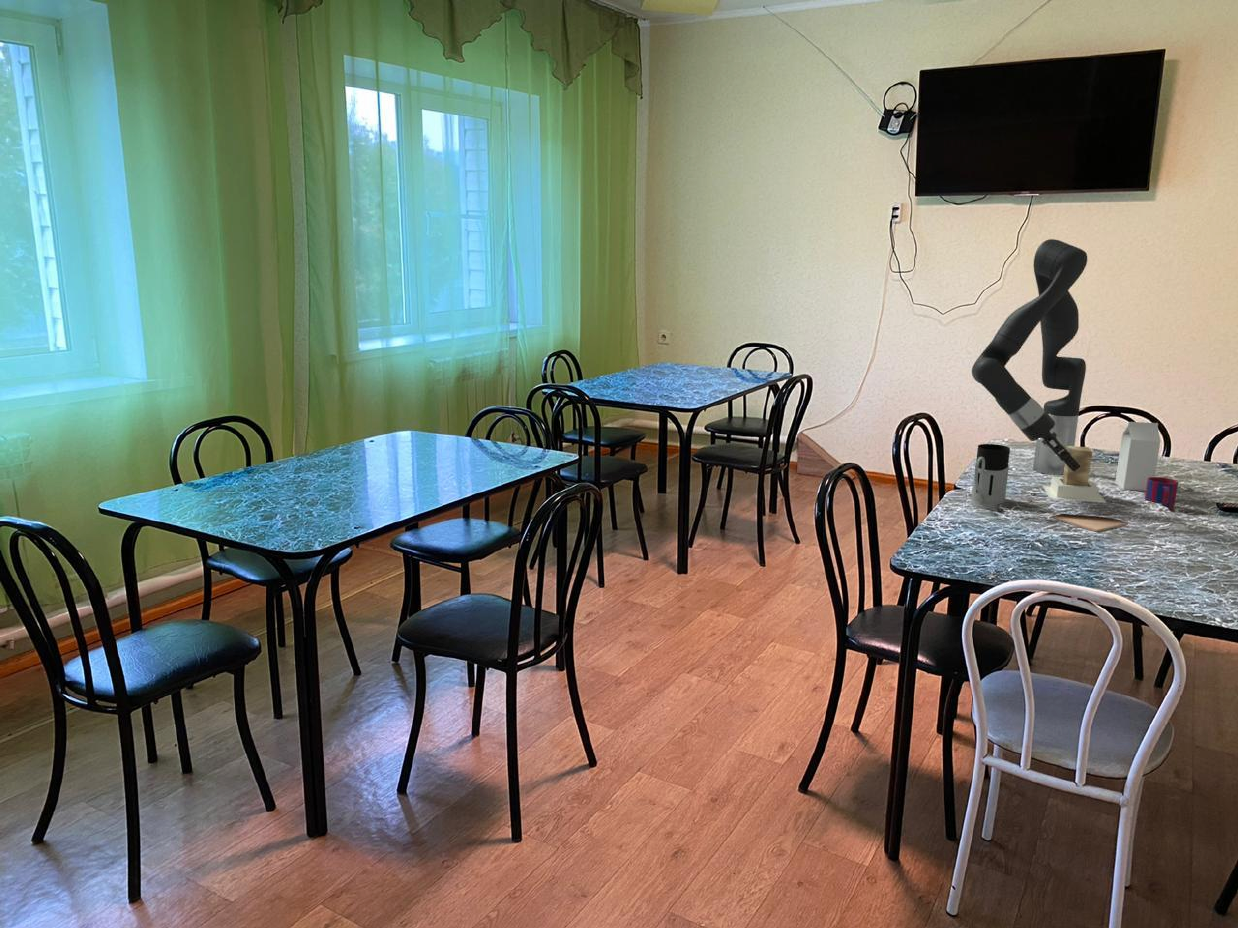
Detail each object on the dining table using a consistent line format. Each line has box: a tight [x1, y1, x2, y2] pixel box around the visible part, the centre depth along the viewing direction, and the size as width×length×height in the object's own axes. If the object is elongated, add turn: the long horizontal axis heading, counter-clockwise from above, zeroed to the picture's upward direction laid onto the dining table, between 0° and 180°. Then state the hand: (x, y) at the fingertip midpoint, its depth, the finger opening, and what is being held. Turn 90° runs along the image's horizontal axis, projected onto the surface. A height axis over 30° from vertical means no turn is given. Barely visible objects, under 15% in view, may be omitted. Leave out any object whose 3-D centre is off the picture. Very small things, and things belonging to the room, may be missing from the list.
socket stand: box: [1042, 476, 1107, 504], centre depth 239 cm, size 13×13×4 cm
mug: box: [1144, 476, 1179, 510], centre depth 233 cm, size 7×10×7 cm
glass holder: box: [968, 443, 1011, 511], centre depth 230 cm, size 9×14×15 cm, turn 137°
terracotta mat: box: [1050, 513, 1129, 532], centre depth 221 cm, size 12×12×1 cm
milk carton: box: [1114, 421, 1161, 492], centre depth 245 cm, size 7×7×19 cm
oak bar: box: [1062, 446, 1093, 487], centre depth 238 cm, size 5×5×12 cm
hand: (1073, 465), depth 238 cm, fingers open, 8 cm apart
